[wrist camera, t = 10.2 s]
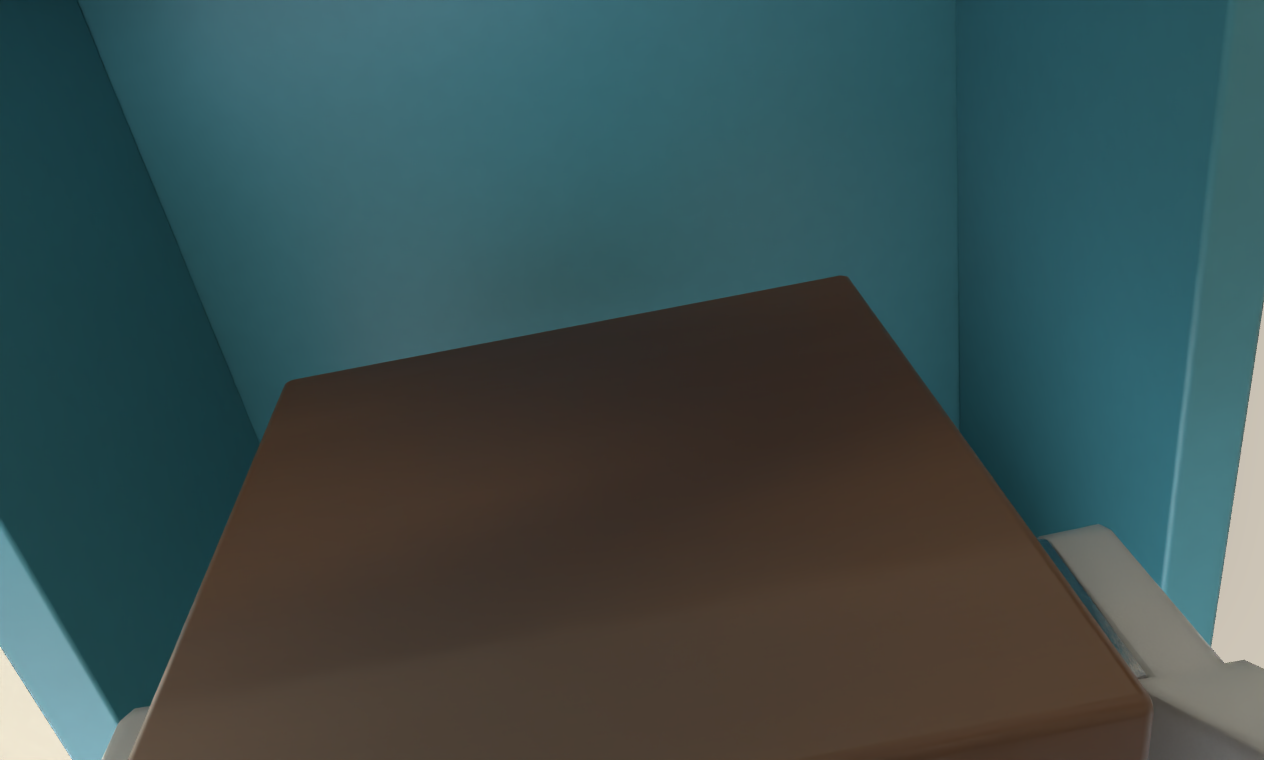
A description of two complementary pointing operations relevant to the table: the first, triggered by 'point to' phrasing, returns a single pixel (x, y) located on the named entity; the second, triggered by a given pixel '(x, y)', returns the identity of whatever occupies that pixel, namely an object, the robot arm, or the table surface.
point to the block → (638, 562)
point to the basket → (600, 247)
